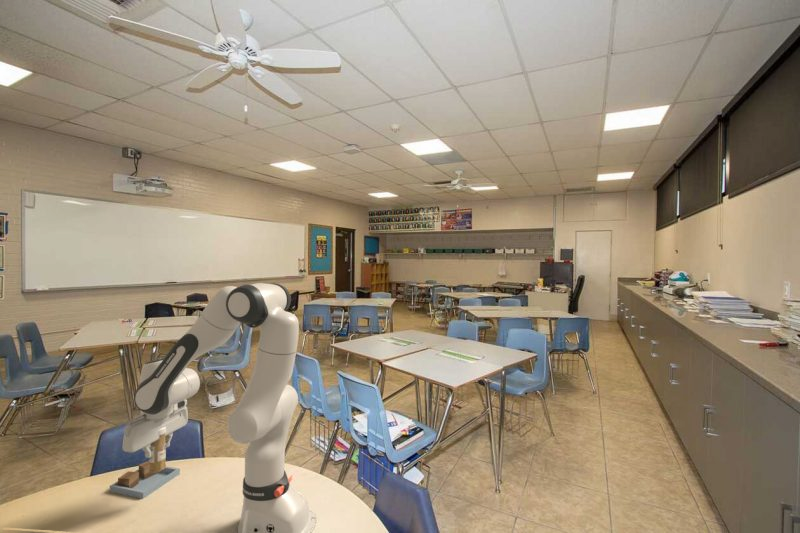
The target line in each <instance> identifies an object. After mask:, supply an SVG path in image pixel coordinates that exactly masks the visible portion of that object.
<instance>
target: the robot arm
mask: <svg viewBox="0 0 800 533" xmlns="http://www.w3.org/2000/svg"><path fill="white" fill-rule="evenodd" d="M291 301H292V297H291V292H290V291H289V290H288V289H287V288H286V287H285V286H284V285H282V284H280V283H273V282H272V283H264V282H256V283H250V284H243V285H239V286H235V285H227V286H223V287H222V288H220V289H219V290H218V291H217V292H216V293H215V294H214V296H212V298H211V299H210V300H209V301H208V303H207V305H206V306H205V307H204V308H203V310H202V312H201V314H200V315H199V316H198V318H197V319H196V320H195V322H194V323H193V324H192V325H191V327H190V328H189V329H188V330H187V331H186V332H185V333H184V335H183V336H182V337H181V338H179V340H178V341H176V343H175V344H174V345H173V347H172V348H171V349H170V350H169V352H168V353H167V354H166V356H165V357H160V358H155V359H152V360H149V361H146V362H145V363H144V364H143V365H142V367H141V371H140V378H139V379H140V381H139V385H138V386H137V389H136V390H135V393H134V399H133V400H134V404H135V406H136V407H137V409H138V410H140V411H139V412H140V415H139V416H138V417H136V418H133V419H130V420H129V422H128V423H127V424H126V425H125V426H124V432H123V436H122V438H123V439H122V451H124V452H126V453H135V452H138V451H139V450H142V451H143V452H144V457H145V458H146V459H149V458H150V457H151V456H153V455H154V454H153V453H154V450H150V449H149V447H150V446H151V443H153V442H154V441H156V440H158V439H159V438H160V437H159V436H158V431H159V430H160V429H162V428H164V427H166V432H165V433H164V434H165V443H166V449H167V448H170V446H171V441H172V437H173V435H174V432H176V431H177V430H179V429H182V428H183V427H184V426H185V427H186V425H187V423H188V421H189V414H188V413H189V412H188V410H189V409H188V407H187V404H188V400H187V399H189V398H192V397H193V396H195V395H196V394H198V392H199V390H200V389H201V381H202V380H201V377H200V375H199V373H198V372H197V371H196V369H194V368H192V367H188V366H189V365H190V364H191V363H192V362H193V361H194V360H196V359H197V358H199V357H202V355H205V354H207V353H208V352H211V351H213V350H215V349H217V348H219V347H221V346H224V344H226V343H227V341H229V339H231V337H233V335H234V334H235V332H236V330H238V328H239V325H240V324H241V323H242V324H244V325H246V326H247V327H249V328H250V329H251V328H252V329H254V328H257V327H258V328H259V332H260V333H259V334H260V335H259V340H258V344H257V350H256V355H255V360H254V365H253V370H252V373H251V376H250V378H249V381H248V383H247V385H246V387H245V390H244V392H243V394H242V396H241V398H240V400H239V402H238V404H237V405H236V407H235V408H234V409H233V411H232V412H231V413H230V414H229V416H228V418H227V420H226V422H227V424H226V429H227V432H228V433H227V434H229V437H230V438H231V439H232V440H233V441H234V442H235V443H237V444H240V445H246V444H248V445H247V448H246V449H245V450H246V451H245V454H244V477H243V479H242V480H243V481H242V495H243V501H242V502H243V504H242V510H241V514H240V519H239V522H238V525H237V533H309V532H310V531H311V530H312V528H313V526H314V524H315V522H316V523H317V520H316V518H317V513H316V512H314V511H313V510H310V509H309V508H310V507H309V504H308V503H309V502H308V501H307V498H306V497H304V496H303V495H302V494H301V493H300V492H299V491H298V490H296V489H295V488H294V487H293V486H292V485H291V484H290V483H291V481H292V480H293V475H290V476H289V478H288V475H287V473H286V470H285V460H286V459H285V458H286V457H285V456H286V455H285V454H286V452H285V451H286V446H287V445H286V444H287V439H288V435H289V430H290V425H291V423H292V419H293V418H292V417H293V416H294V413H295V410H296V408H297V406H298V403H299V395H298V391H297V390H296V389H295V387H293V386H292V385H290V384H288V383H289V382H290V380H291V379H292V378H291V377H292V375H293V372H294V367H295V363H296V355H297V350H298V344H299V336H300V324H299V323H300V322H299V319H298V317H297V316H296V315H295V314H293V313H291V312H290V311H288V309H289V308H290V305H291ZM312 519H314V520H313V521H312ZM315 525H316V524H315ZM312 531H313V530H312Z"/></svg>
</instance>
